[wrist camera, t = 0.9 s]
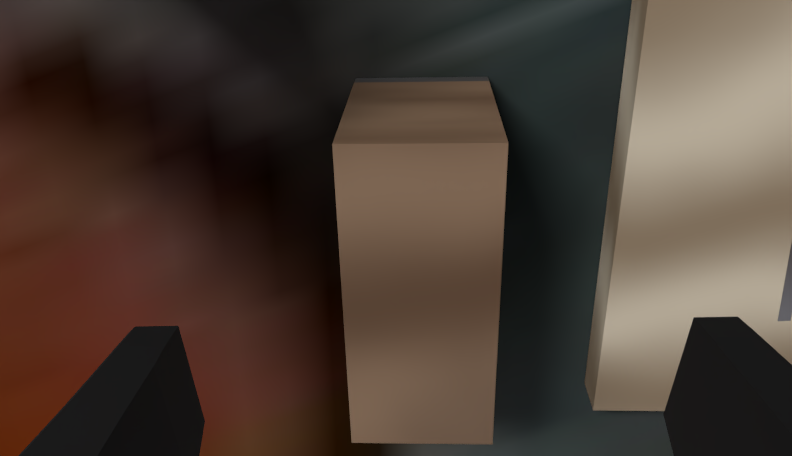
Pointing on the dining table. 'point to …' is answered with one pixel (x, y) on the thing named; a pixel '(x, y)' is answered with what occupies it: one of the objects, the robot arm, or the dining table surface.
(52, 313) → the dining table surface
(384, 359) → the block
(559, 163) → the dining table surface
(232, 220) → the dining table surface
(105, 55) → the dining table surface
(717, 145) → the board
